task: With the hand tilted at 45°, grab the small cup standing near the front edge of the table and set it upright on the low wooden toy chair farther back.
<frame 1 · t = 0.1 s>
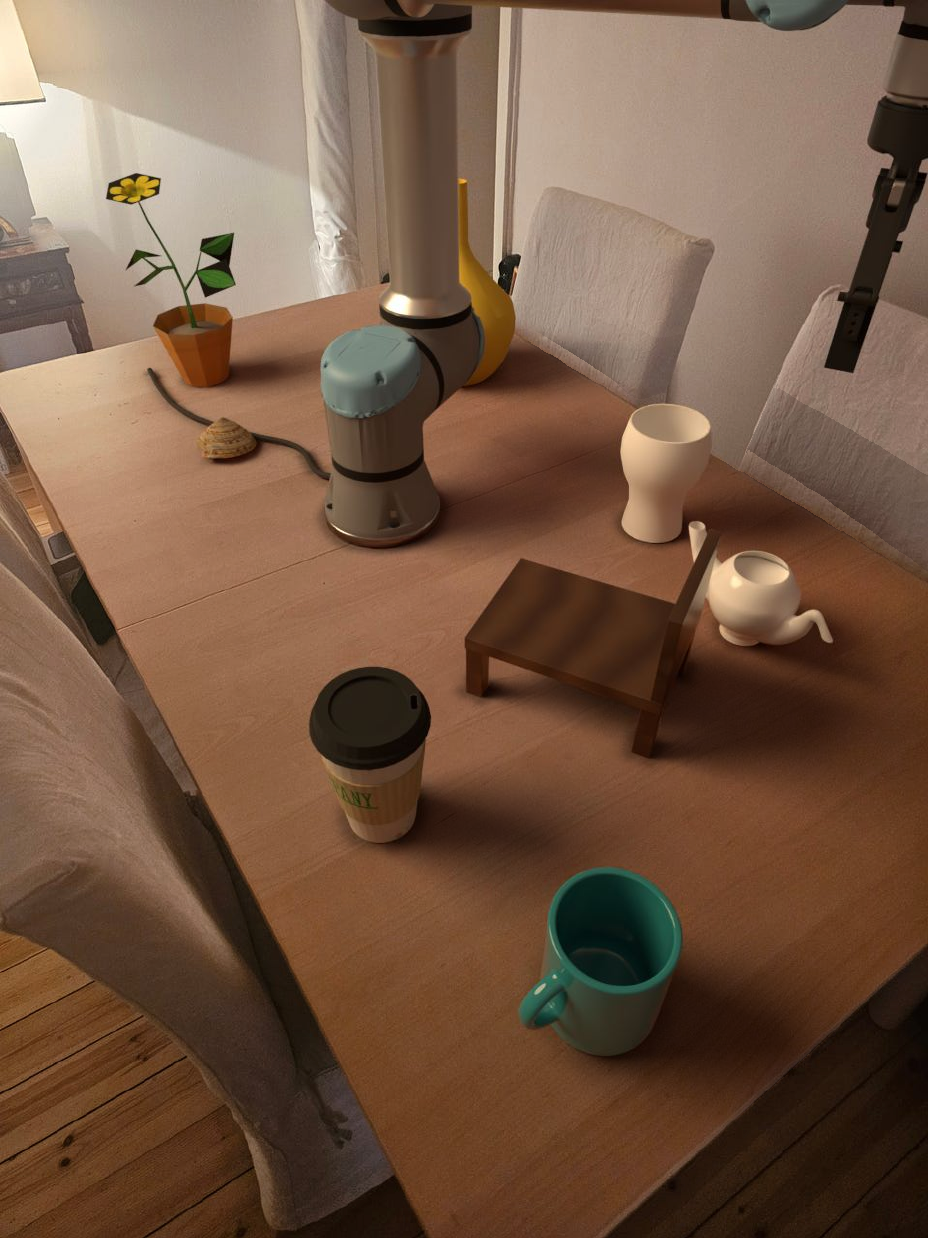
hand: (848, 341, 83), 28 cm above the table, tool pointing down, fingers open, 13 cm apart
coffee cup: (382, 814, 75), on the table
potted plant: (206, 378, 139), on the table
seashell: (228, 450, 122), on the table
cup: (651, 526, 107), on the table
teapot: (740, 632, 93), on the table
wooden toy chair: (577, 679, 87), on the table
cup 2: (581, 1008, 62), on the table
vase: (459, 374, 140), on the table
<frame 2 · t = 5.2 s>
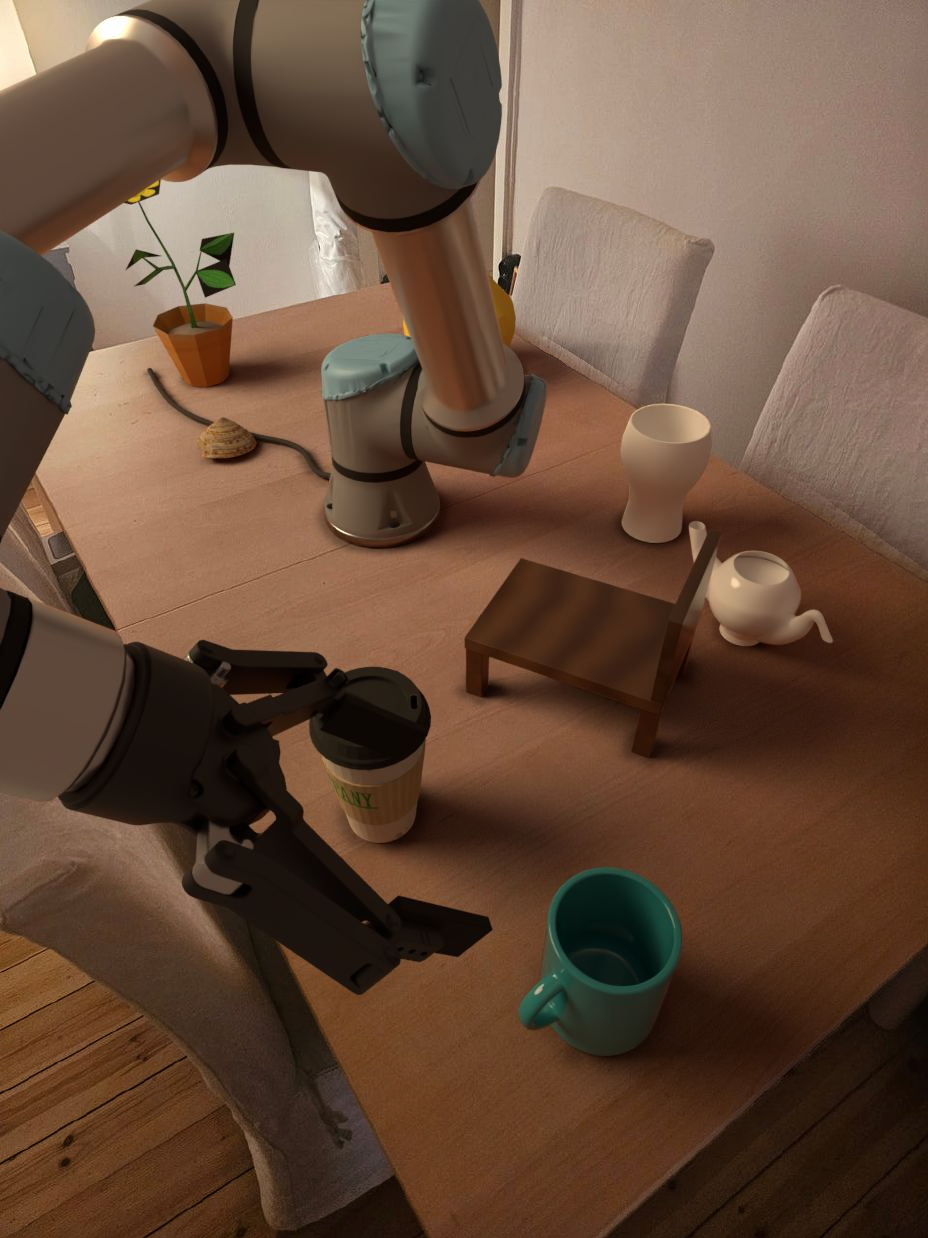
hand: (439, 830, 48), 22 cm above the table, tool tilted 45°, fingers open, 13 cm apart
nothing on the table moved.
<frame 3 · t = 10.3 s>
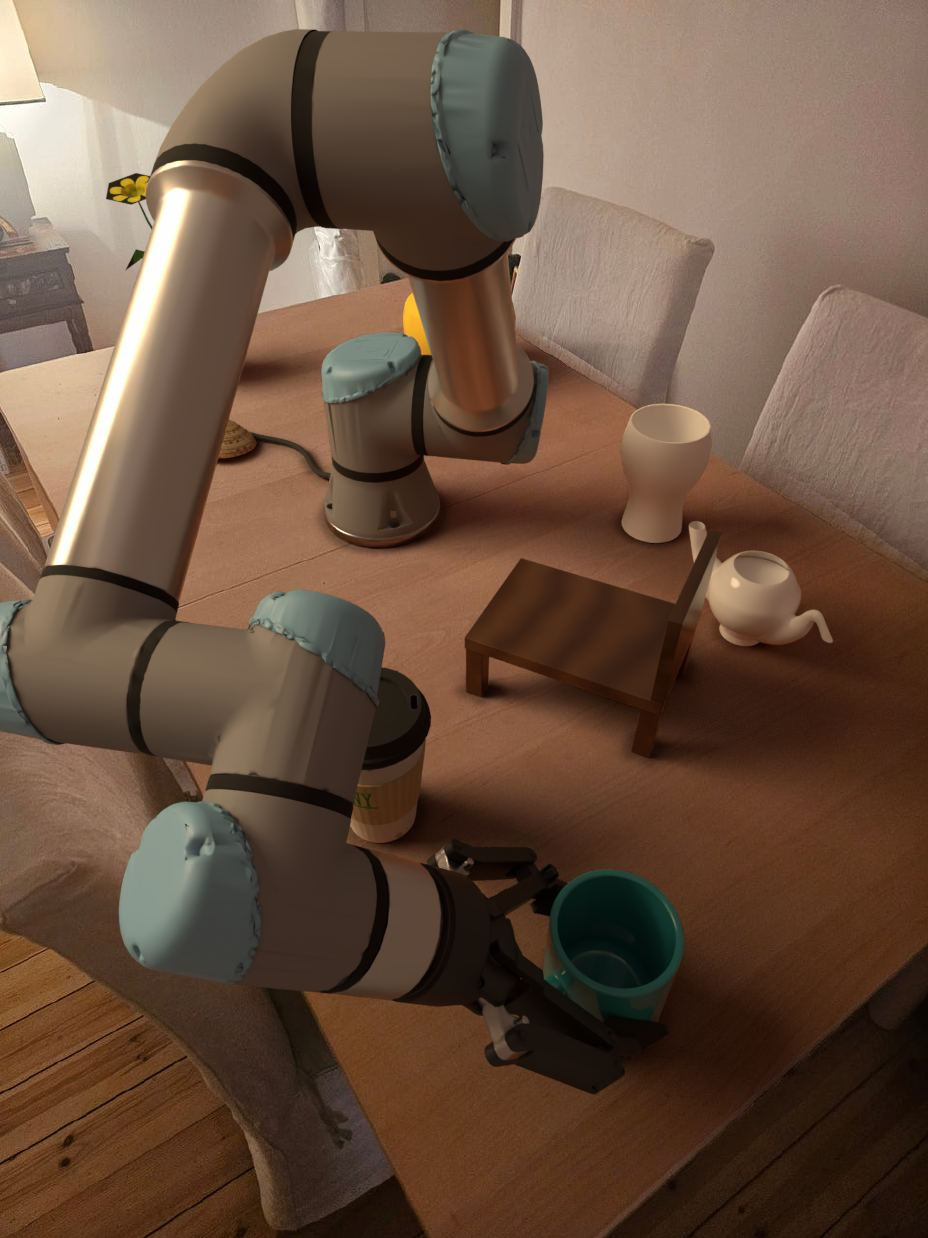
hand: (622, 971, 61), 4 cm above the table, tool tilted 45°, fingers closed on cup 2, 9 cm apart
cup 2: (583, 1010, 62), on the table, touching gripper
everything else where it was.
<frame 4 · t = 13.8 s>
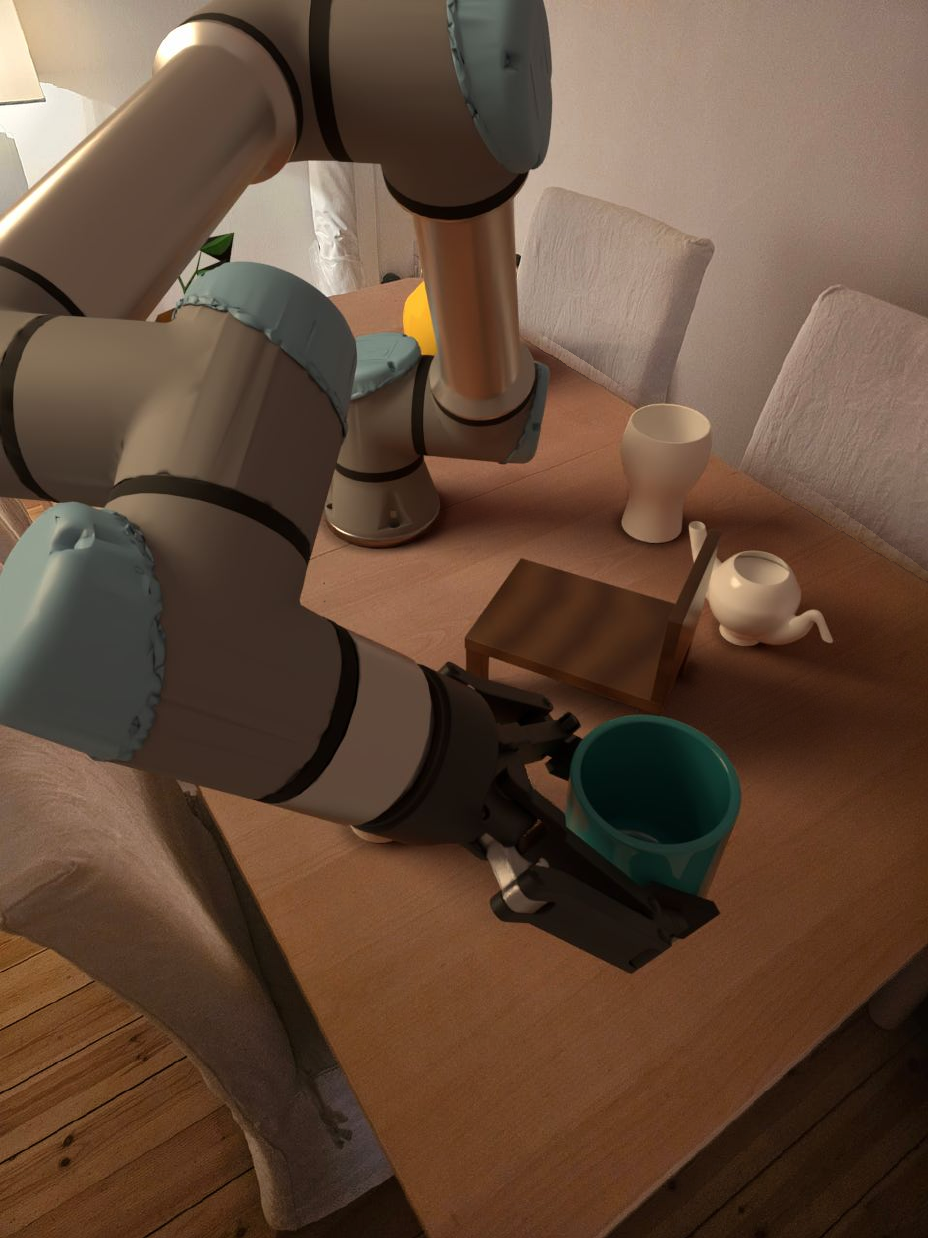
hand: (658, 846, 49), 21 cm above the table, tool tilted 45°, fingers closed on cup 2, 9 cm apart
cup 2: (608, 898, 51), point 17 cm above the table, touching gripper
everything else where it was.
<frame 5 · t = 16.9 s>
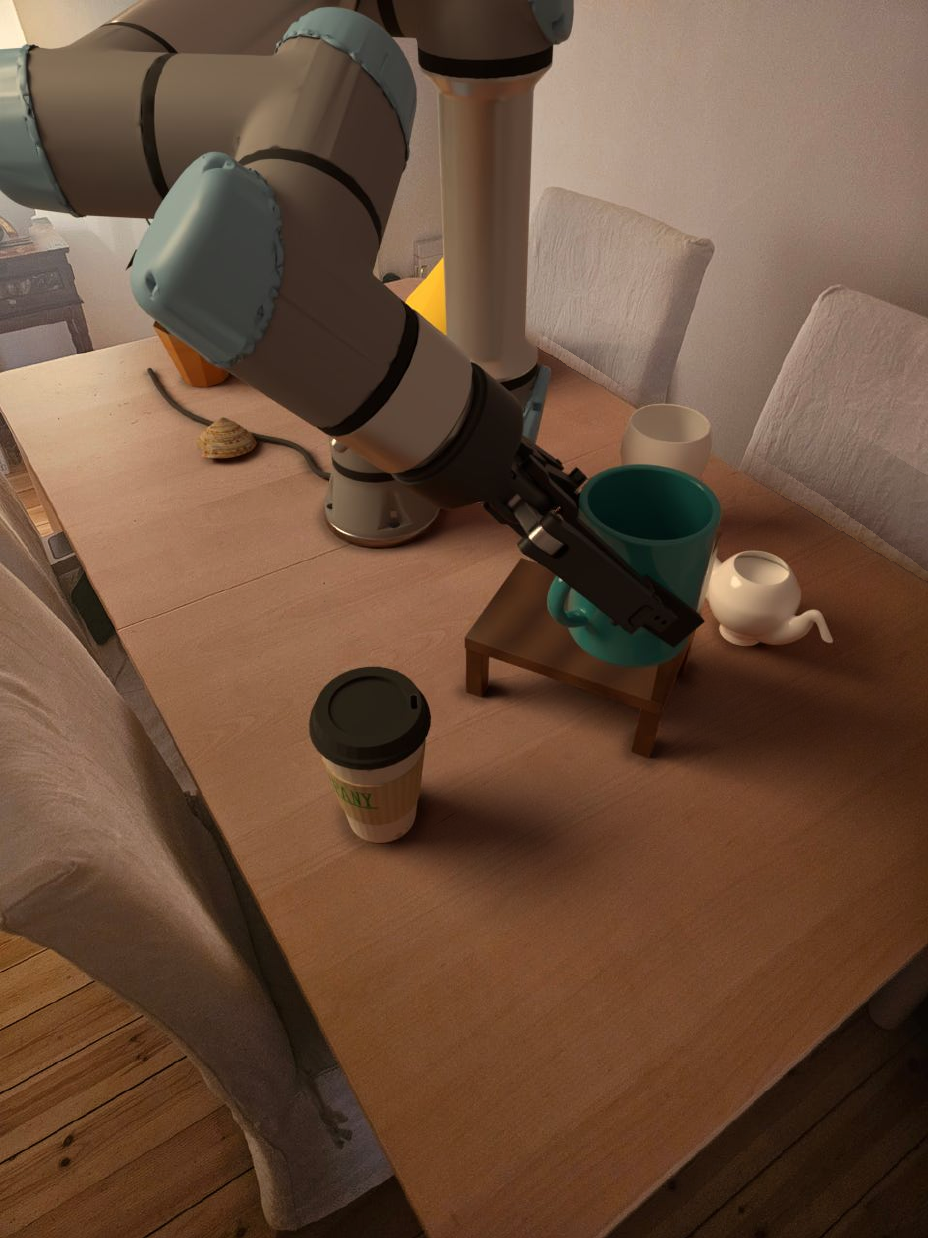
hand: (653, 585, 58), 26 cm above the table, tool tilted 45°, fingers closed on cup 2, 9 cm apart
cup 2: (611, 637, 60), point 22 cm above the table, touching gripper
everything else where it was.
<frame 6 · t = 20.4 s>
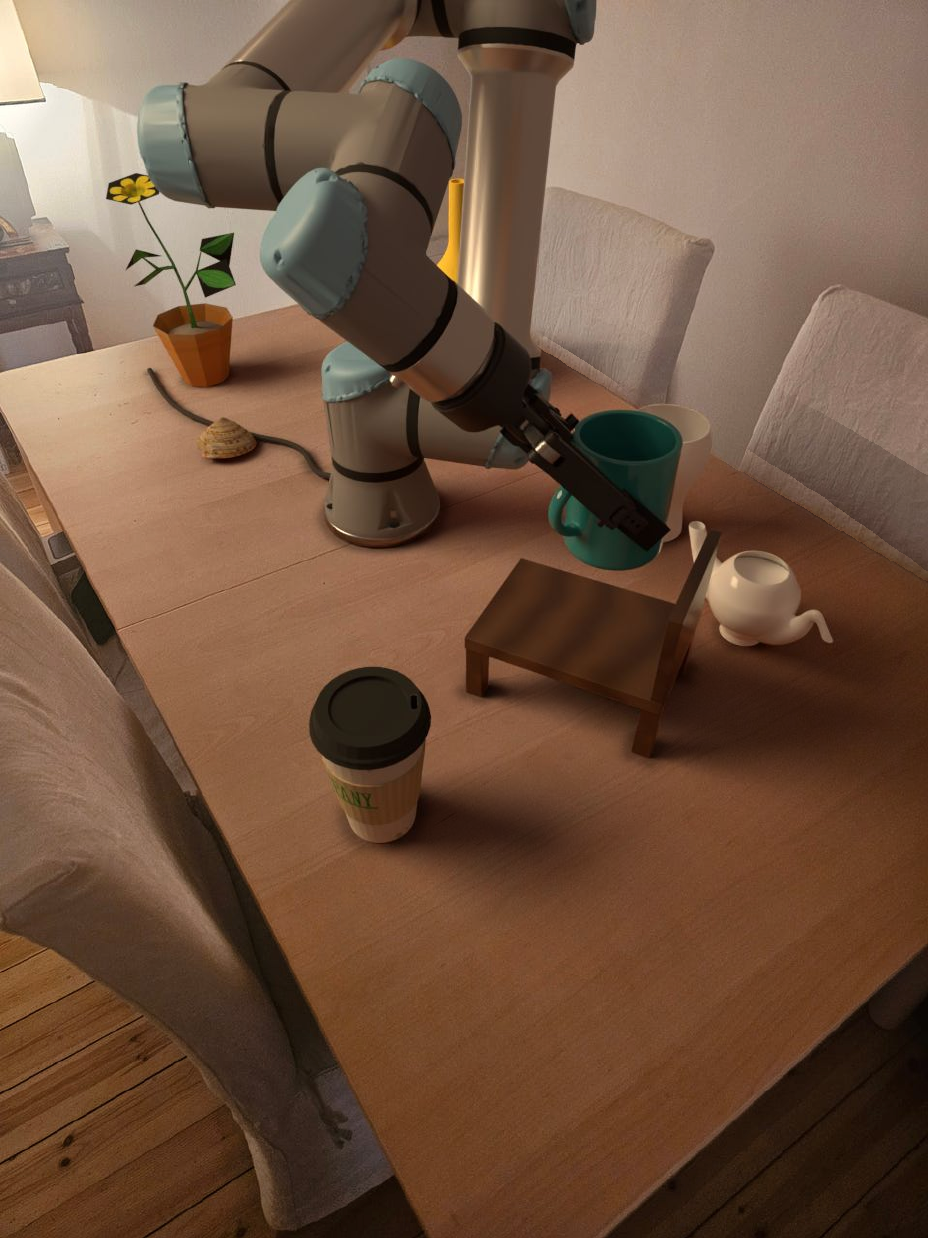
hand: (632, 507, 73), 22 cm above the table, tool tilted 45°, fingers closed on cup 2, 9 cm apart
cup 2: (598, 550, 75), point 18 cm above the table, touching gripper
everything else where it was.
when the fingers open (12 cm above the table, at t = 23.5 s): cup 2 stays where it is, resting on wooden toy chair.
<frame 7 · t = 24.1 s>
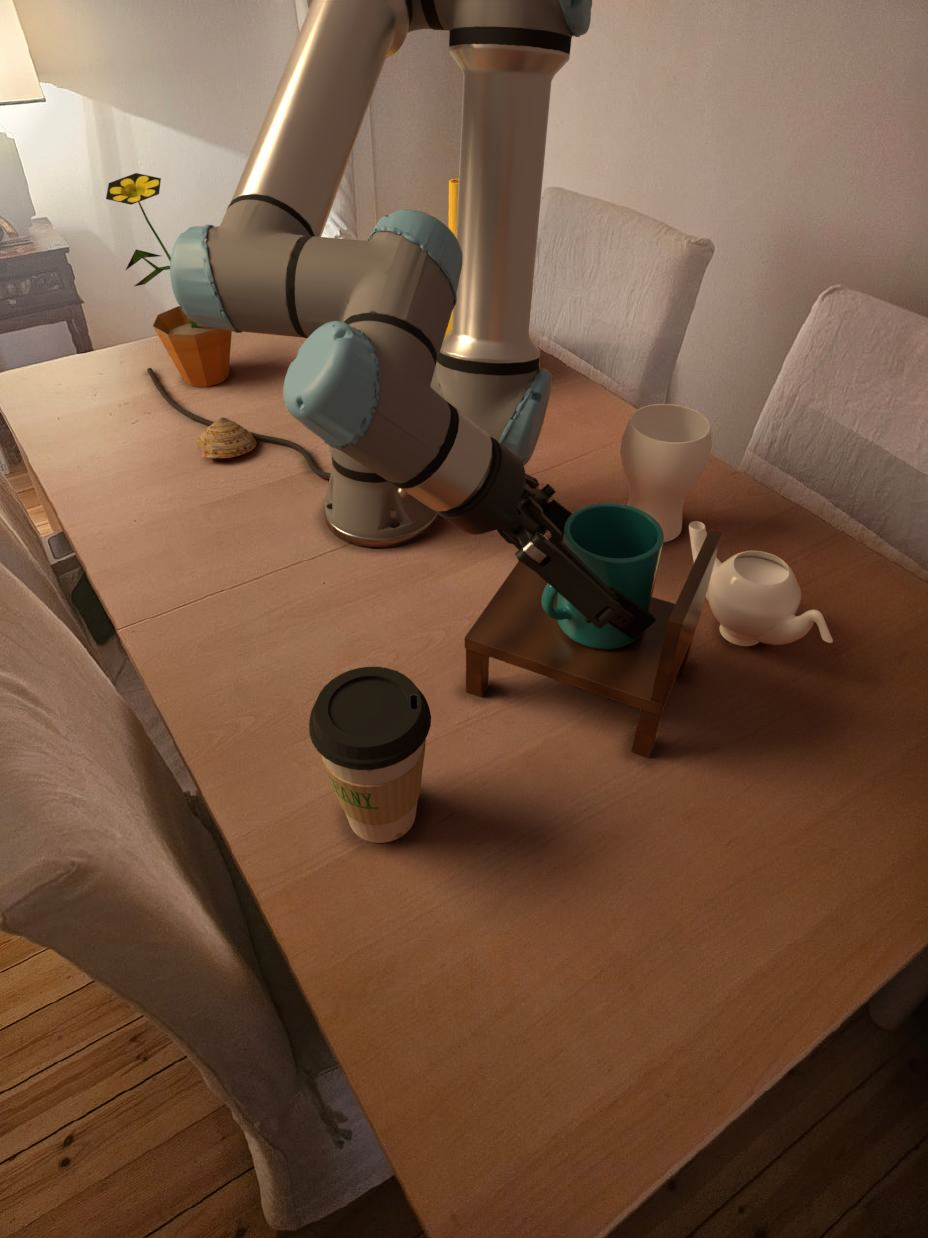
hand: (612, 581, 79), 13 cm above the table, tool tilted 45°, fingers open, 13 cm apart
cup 2: (588, 627, 82), point 8 cm above the table, touching wooden toy chair
everything else where it was.
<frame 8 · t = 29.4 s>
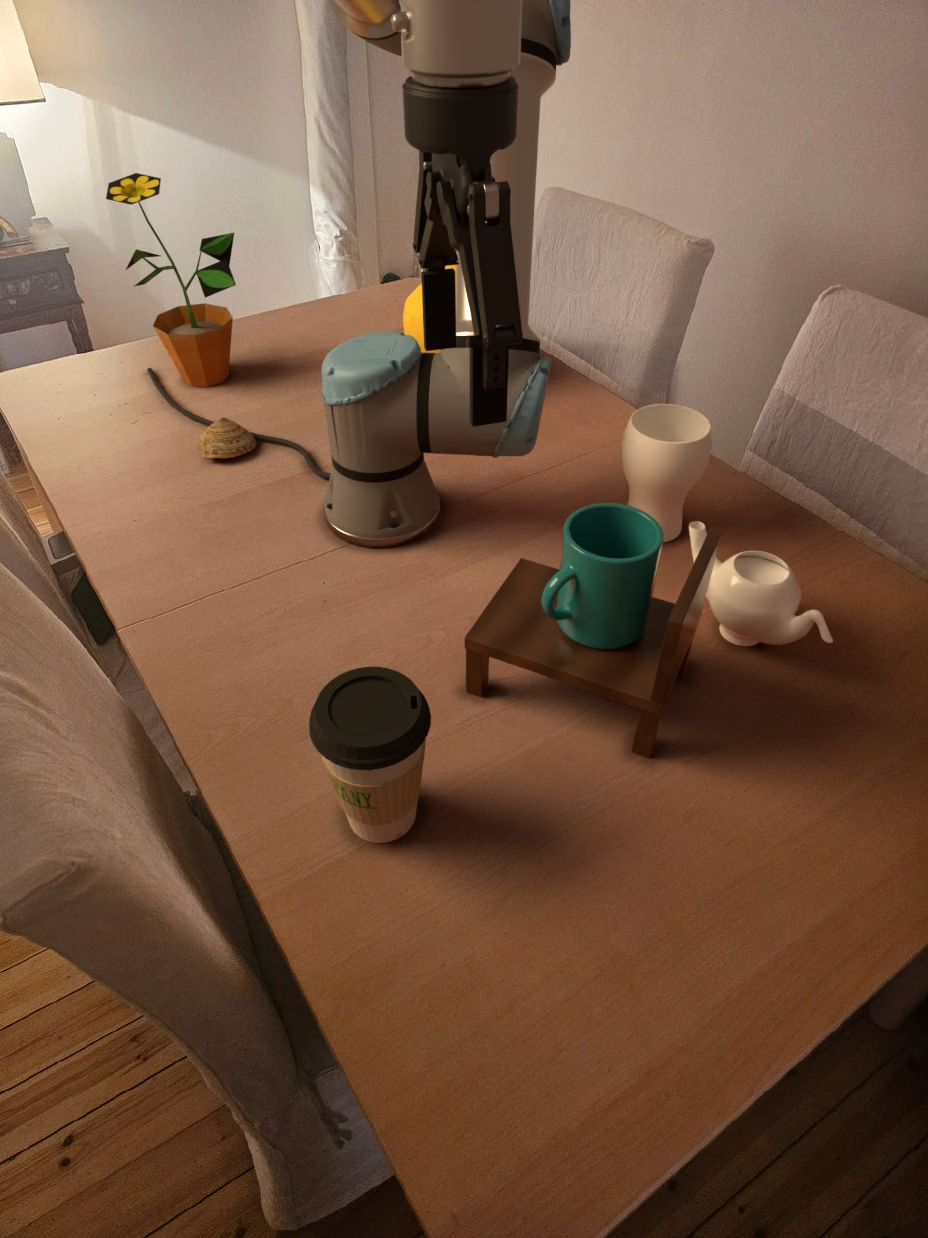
hand: (462, 382, 67), 33 cm above the table, tool pointing down, fingers open, 13 cm apart
nothing on the table moved.
at the end: cup 2 inside the target area on the wooden toy chair (0.4 cm from its centre), point 7.8 cm above the wooden toy chair's base; cup 2 tilted 0°; the gripper is holding nothing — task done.
